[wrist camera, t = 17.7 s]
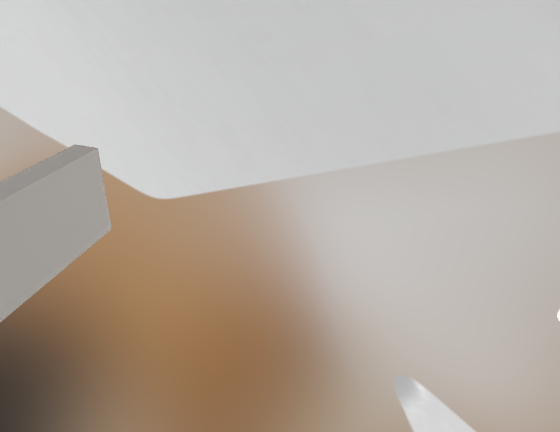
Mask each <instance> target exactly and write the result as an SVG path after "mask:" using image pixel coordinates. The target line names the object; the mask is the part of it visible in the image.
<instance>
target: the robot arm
mask: <svg viewBox="0 0 560 432" xmlns="http://www.w3.org/2000/svg"><path fill="white" fill-rule="evenodd" d="M110 230H111V223H110V218H109V211H108V206H107V199H106V194H105V188H104V182H103V176H102V170H101V164H100V158H99V152H98V148H94V147H87V146H81V145H73V146H71V147H69V148H67V149H65V150H63V151H61V152H59V153H57V154H55V155H53V156H51V157H49V158H47V159H45V160H43V161H41V162H39V163H37V164H35V165H33V166H31V167H29V168H27V169H25V170H23V171H21V172H19V173H17V174H15V175H13V176H11V177H9V178H7V179H5V180H3V181H1V182H0V322H1V321H2V320H3V319H5V318H6V317H7V316H8V315H10V314H11V313H12V312H13V311H14V310H15V309H17V308H18V307H19V306H20V305H21V304H23V303H24V302H25V301H26V300H27V299H29V298H30V297H31V296H32V295H33V294H35V293H36V292H37V291H38V290H39V289H40V288H41V287H43V286H44V285H45V284H46V283H48V282H49V281H50V280H51V279H52V278H54V277H55V276H56V275H57V274H58V273H60V272H61V271H62V270H63V269H64V268H66V267H67V266H68V265H69V264H70V263H72V262H73V261H74V260H75V259H76V258H77V257H79V256H80V255H81V254H82V253H83V252H85V251H86V250H87V249H88V248H89V247H91V246H92V245H93V244H94V243H95V242H97V241H98V240H99V239H100V238H101V237H102V236H103V235H105V234H106V233H107V232H108V231H110ZM557 317H558V319H559V322H560V309H559V312H558V314H557Z"/></svg>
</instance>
